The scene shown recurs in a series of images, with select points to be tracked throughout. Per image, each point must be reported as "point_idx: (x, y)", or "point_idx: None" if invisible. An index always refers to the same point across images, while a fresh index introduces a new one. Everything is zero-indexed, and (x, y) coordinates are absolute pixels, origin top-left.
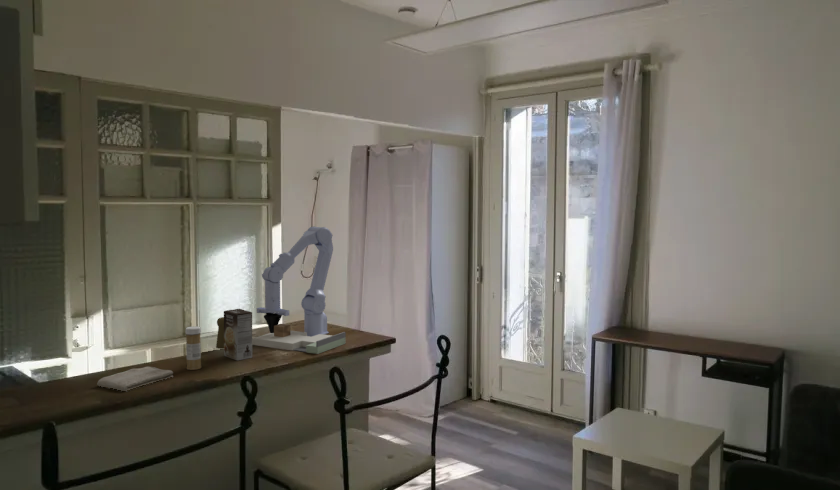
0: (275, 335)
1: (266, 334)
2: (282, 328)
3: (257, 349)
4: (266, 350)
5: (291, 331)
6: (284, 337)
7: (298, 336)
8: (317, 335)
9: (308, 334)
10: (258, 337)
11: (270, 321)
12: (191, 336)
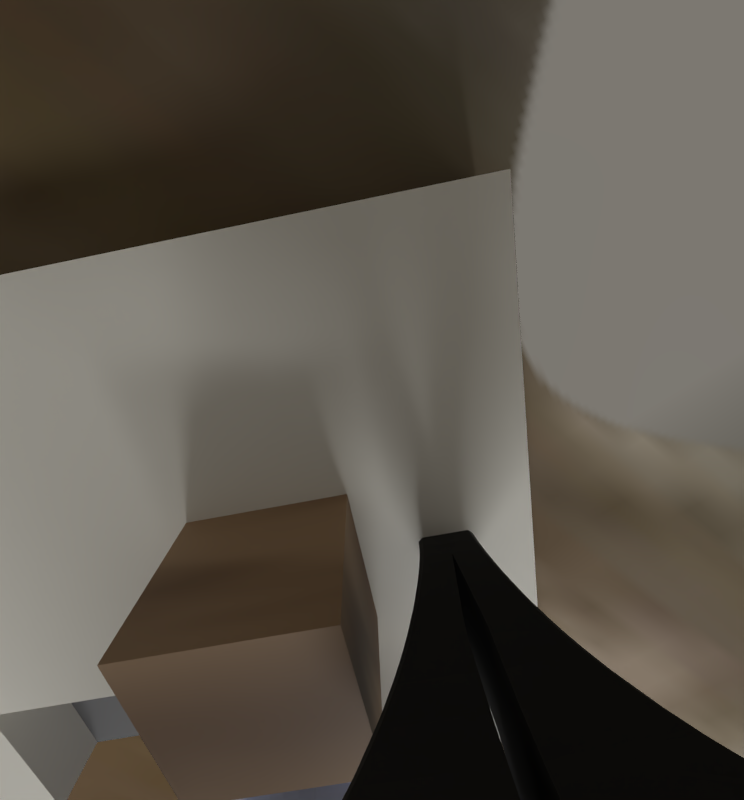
0: (318, 505)
1: (516, 493)
2: (134, 631)
3: (167, 21)
4: (11, 76)
5: None
6: (161, 525)
7: (93, 648)
8: (6, 770)
9: None
10: (463, 290)
11: (472, 706)
12: None
